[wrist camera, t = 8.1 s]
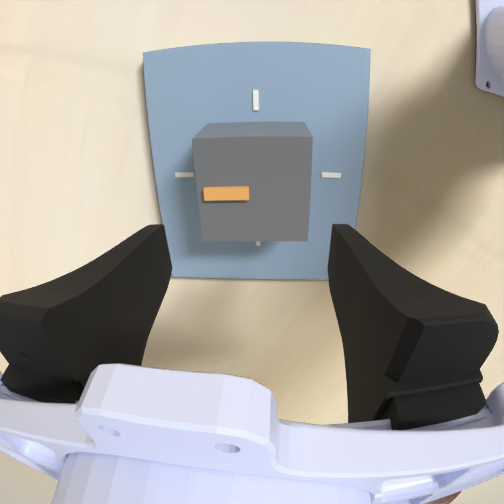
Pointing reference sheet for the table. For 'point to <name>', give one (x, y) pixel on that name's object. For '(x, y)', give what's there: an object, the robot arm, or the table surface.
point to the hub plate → (257, 110)
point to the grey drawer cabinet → (253, 180)
